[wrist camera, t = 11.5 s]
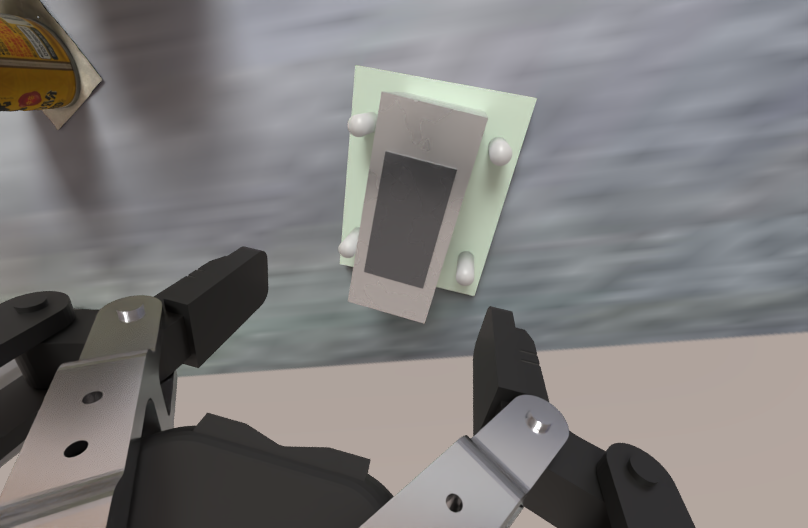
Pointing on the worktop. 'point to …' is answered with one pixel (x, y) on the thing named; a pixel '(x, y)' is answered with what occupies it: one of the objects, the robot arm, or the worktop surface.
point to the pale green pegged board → (486, 177)
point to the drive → (412, 200)
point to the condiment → (40, 63)
